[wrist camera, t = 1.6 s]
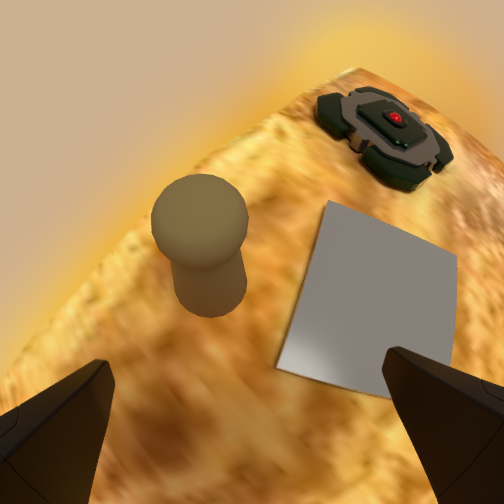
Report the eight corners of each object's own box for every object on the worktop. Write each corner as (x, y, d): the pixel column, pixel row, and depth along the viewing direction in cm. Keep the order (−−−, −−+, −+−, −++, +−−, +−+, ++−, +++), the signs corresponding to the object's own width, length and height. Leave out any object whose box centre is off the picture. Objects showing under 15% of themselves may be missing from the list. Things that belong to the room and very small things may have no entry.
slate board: (433, 406, 19) (441, 406, 18) (274, 368, 20) (276, 367, 19) (450, 260, 26) (456, 255, 25) (324, 206, 27) (328, 199, 26)
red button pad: (452, 164, 34) (466, 145, 30) (398, 207, 29) (416, 182, 25) (374, 95, 40) (382, 75, 36) (299, 114, 35) (305, 87, 31)
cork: (202, 237, 25) (189, 143, 15) (260, 272, 24) (282, 189, 14) (160, 290, 22) (112, 216, 13) (219, 332, 21) (209, 284, 11)
